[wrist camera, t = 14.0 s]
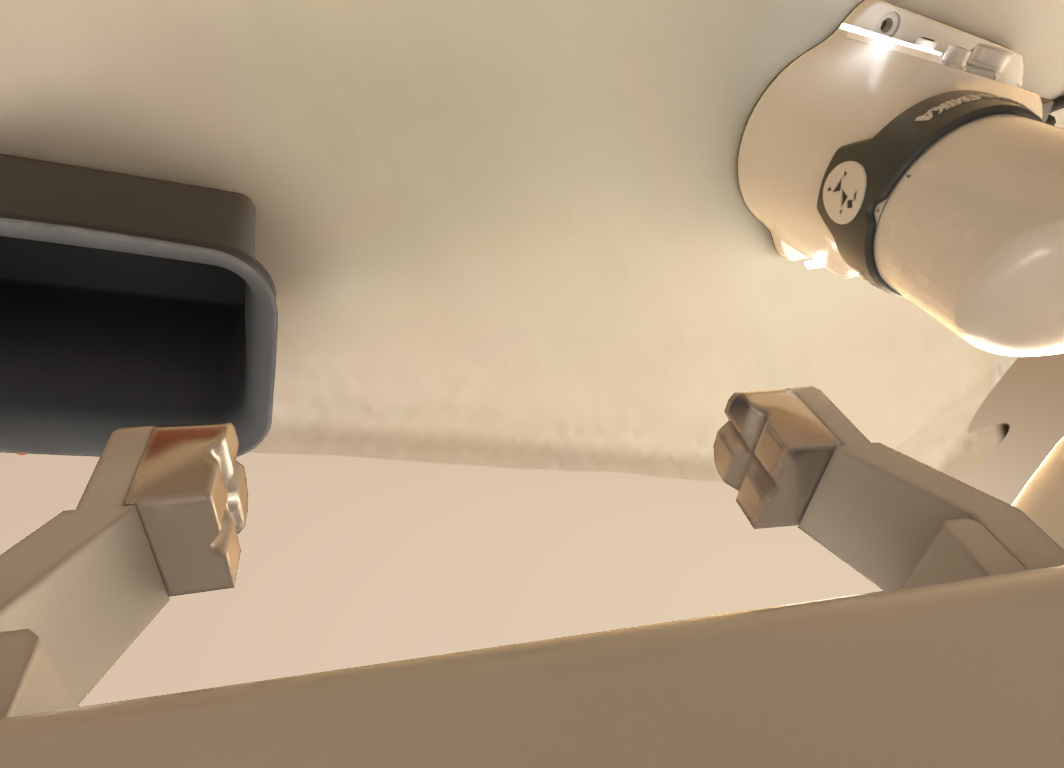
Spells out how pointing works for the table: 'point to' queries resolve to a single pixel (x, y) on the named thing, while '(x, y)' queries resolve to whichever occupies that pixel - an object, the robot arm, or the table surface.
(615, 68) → the table surface
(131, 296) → the storage bin
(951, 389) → the table surface
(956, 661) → the robot arm
